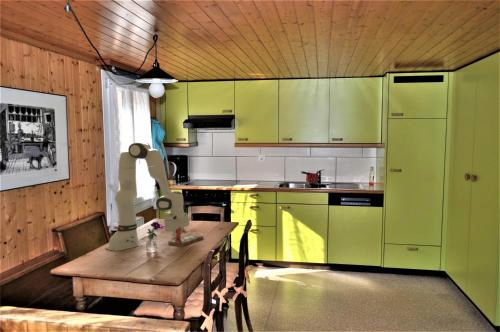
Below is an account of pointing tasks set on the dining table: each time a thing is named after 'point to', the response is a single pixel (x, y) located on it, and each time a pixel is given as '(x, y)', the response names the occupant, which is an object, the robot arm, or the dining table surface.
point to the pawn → (178, 235)
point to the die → (173, 235)
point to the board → (186, 240)
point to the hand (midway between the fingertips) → (177, 235)
